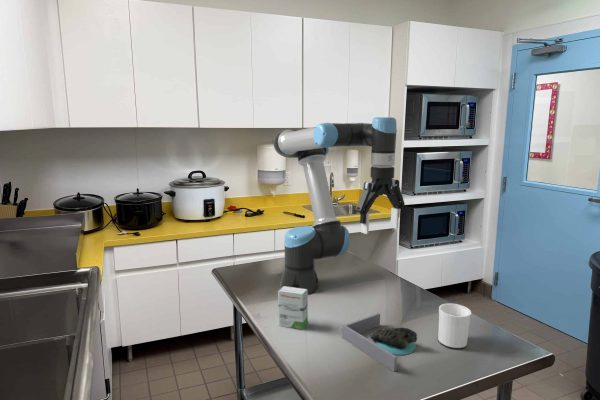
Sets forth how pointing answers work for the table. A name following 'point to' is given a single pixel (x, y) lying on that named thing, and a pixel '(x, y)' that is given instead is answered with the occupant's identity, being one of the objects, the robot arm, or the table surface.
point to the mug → (453, 325)
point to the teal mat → (394, 350)
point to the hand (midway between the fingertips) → (379, 230)
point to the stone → (395, 336)
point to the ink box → (293, 307)
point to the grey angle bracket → (378, 353)
